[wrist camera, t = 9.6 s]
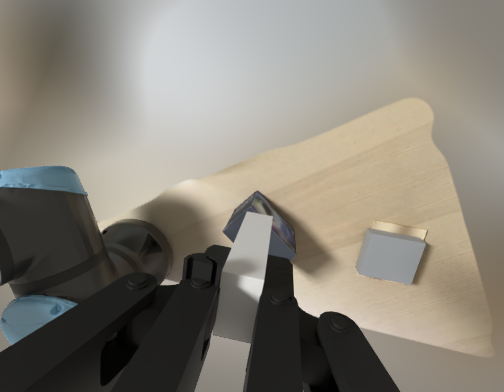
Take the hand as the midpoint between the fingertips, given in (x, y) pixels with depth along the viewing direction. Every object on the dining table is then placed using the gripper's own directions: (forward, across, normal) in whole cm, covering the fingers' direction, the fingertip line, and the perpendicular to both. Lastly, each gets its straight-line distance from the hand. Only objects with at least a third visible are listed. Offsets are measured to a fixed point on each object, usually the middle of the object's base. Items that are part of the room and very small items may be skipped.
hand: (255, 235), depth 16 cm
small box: (+35, 0, -12) cm, 37 cm away
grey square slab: (+33, +18, -14) cm, 40 cm away
